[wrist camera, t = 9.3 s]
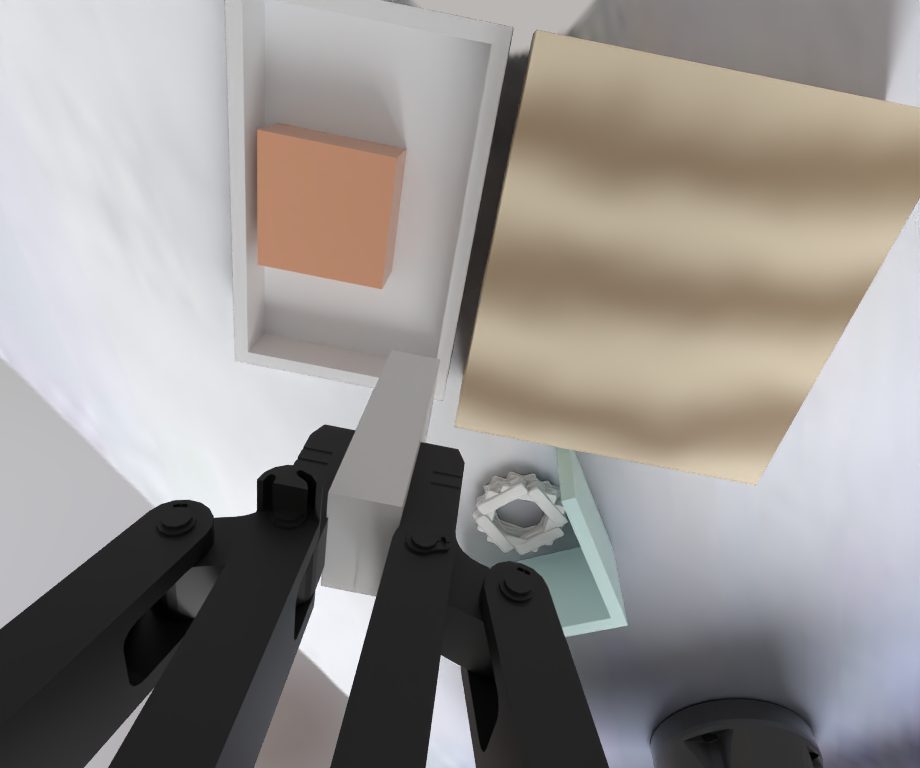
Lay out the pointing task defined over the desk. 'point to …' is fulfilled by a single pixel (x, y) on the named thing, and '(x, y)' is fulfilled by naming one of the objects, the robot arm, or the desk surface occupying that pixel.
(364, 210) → the tile
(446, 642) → the robot arm
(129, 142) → the desk surface
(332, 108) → the box
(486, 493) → the l-shaped corner panel
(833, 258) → the plate
